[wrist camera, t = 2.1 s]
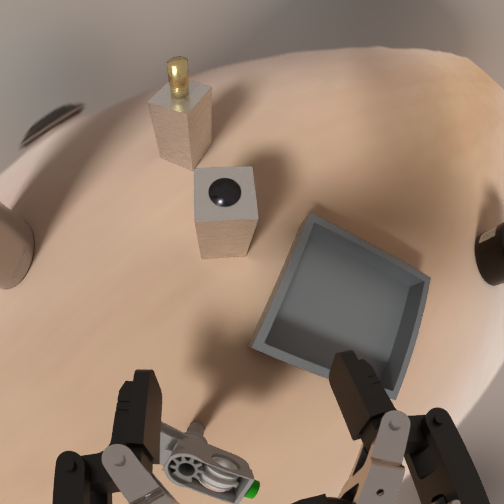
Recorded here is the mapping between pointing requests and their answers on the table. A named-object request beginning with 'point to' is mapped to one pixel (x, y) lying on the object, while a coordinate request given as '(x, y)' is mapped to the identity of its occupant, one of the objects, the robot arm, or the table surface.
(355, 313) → the tray
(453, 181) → the table surface
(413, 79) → the table surface
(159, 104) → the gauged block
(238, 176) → the block
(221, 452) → the mechanical component
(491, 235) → the ink bottle
